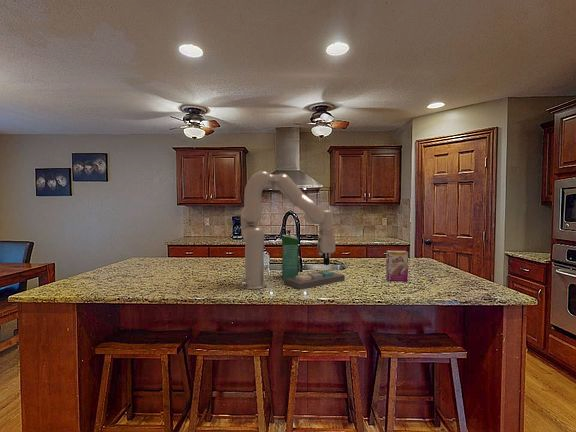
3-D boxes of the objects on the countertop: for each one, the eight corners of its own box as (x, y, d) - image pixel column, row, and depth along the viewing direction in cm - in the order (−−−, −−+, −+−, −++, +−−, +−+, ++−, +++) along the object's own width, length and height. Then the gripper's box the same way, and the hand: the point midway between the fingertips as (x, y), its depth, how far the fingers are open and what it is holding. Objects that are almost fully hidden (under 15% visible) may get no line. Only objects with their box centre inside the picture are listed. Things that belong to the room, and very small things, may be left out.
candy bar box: (387, 281, 177) (387, 251, 177) (385, 279, 182) (386, 250, 182) (408, 281, 176) (408, 252, 176) (405, 279, 181) (406, 250, 180)
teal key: (325, 278, 175) (325, 273, 175) (317, 276, 180) (317, 271, 180) (333, 276, 179) (333, 272, 179) (325, 274, 184) (325, 270, 184)
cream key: (302, 282, 166) (302, 277, 166) (295, 280, 171) (295, 275, 170) (311, 281, 169) (311, 276, 169) (304, 278, 174) (304, 274, 174)
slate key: (314, 280, 170) (314, 275, 170) (307, 278, 175) (307, 273, 175) (322, 278, 174) (322, 274, 174) (315, 276, 179) (315, 272, 179)
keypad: (299, 289, 160) (299, 283, 160) (283, 284, 171) (283, 278, 171) (344, 280, 179) (344, 275, 178) (327, 275, 190) (327, 270, 190)
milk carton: (298, 279, 181) (298, 235, 180) (282, 279, 182) (282, 235, 181) (297, 275, 190) (297, 234, 189) (282, 275, 191) (282, 233, 190)
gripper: (320, 233, 171) (321, 267, 172) (340, 231, 180) (340, 263, 181) (311, 232, 177) (311, 265, 178) (330, 230, 186) (331, 262, 187)
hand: (326, 264), depth 179 cm, fingers closed
